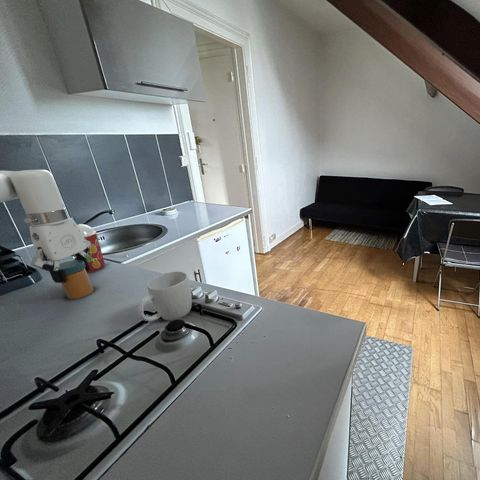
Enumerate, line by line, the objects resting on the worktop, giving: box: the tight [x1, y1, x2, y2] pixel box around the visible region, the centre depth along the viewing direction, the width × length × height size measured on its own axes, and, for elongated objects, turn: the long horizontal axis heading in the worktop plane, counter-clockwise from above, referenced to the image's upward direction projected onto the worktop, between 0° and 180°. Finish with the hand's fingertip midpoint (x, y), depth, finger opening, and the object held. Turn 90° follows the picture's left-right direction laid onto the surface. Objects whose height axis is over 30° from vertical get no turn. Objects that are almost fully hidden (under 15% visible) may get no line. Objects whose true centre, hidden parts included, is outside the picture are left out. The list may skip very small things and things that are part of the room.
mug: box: [136, 271, 193, 322], centre depth 65 cm, size 13×9×10 cm
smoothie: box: [72, 216, 105, 273], centre depth 91 cm, size 8×8×20 cm
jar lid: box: [59, 259, 86, 275], centre depth 75 cm, size 7×7×2 cm
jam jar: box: [60, 268, 94, 300], centre depth 77 cm, size 6×6×10 cm
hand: (73, 275), depth 76 cm, fingers closed on jar lid, 6 cm apart
